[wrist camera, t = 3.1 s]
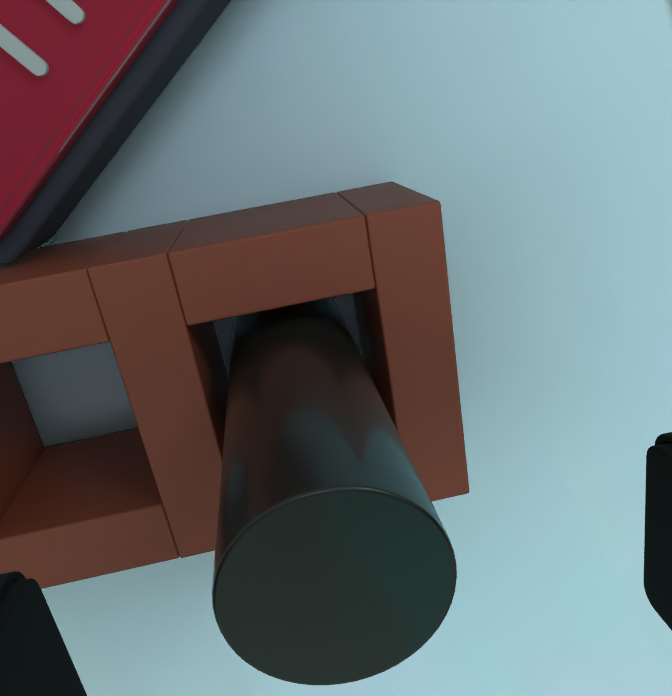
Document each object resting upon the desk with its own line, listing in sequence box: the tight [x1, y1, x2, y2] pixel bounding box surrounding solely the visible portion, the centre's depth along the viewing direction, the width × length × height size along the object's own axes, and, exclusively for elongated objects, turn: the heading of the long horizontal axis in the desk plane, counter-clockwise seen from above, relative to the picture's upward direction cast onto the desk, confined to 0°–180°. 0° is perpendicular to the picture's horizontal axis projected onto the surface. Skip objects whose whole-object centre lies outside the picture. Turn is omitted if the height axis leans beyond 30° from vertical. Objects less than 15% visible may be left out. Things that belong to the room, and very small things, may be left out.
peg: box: [212, 298, 457, 685], centre depth 14 cm, size 4×4×12 cm
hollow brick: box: [0, 182, 469, 589], centre depth 17 cm, size 15×8×5 cm, turn 100°
